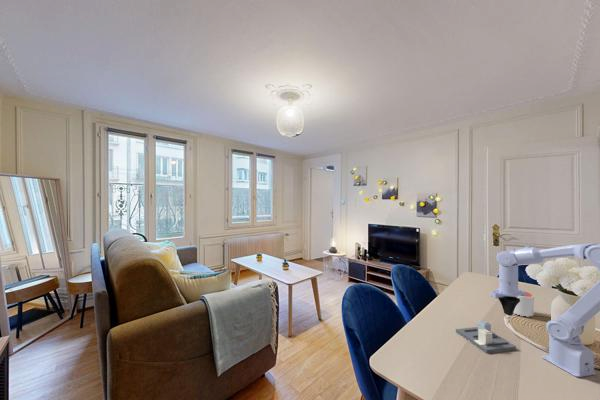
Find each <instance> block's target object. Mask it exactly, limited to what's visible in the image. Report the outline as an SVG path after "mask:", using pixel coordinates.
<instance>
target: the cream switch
mask: <svg viewBox="0 0 600 400" xmlns="http://www.w3.org/2000/svg"><path fill="white" fill-rule="evenodd" d="M478 340H479V341H481V342H482V343H484V344H492V333H491V332H490V331H488V330H486V329H479V330H478Z"/></svg>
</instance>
